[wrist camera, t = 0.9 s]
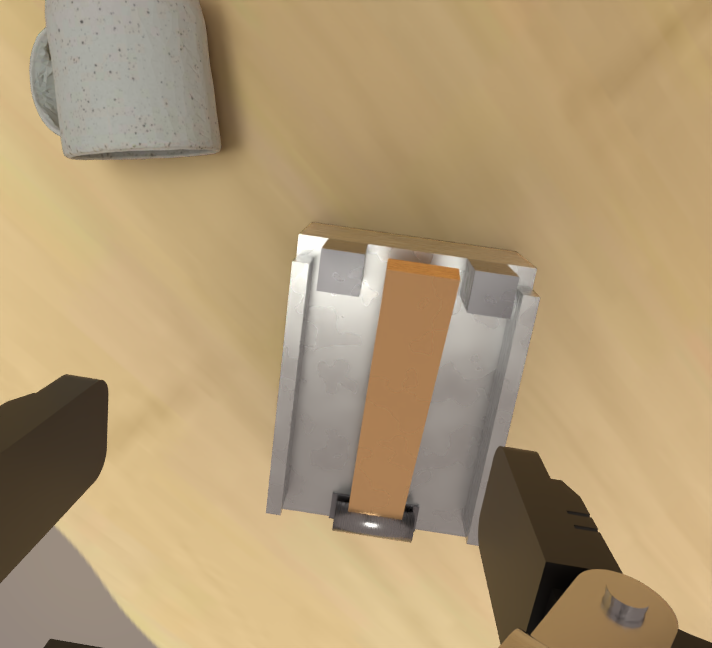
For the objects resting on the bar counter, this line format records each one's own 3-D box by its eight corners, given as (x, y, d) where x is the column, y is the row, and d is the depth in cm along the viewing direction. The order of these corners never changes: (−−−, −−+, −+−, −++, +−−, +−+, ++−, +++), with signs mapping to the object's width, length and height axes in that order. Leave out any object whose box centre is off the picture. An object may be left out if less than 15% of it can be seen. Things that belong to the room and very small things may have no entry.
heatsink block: (312, 221, 34) (288, 243, 26) (516, 251, 34) (552, 281, 26) (285, 462, 39) (258, 539, 31) (464, 489, 38) (482, 574, 31)
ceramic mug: (218, -9, 31) (160, -59, 23) (239, 152, 33) (192, 153, 26) (30, 13, 32) (-82, -28, 24) (63, 167, 34) (-30, 172, 27)
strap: (371, 255, 24) (368, 273, 23) (475, 270, 24) (478, 290, 23) (334, 512, 34) (331, 536, 32) (410, 524, 34) (409, 548, 32)
